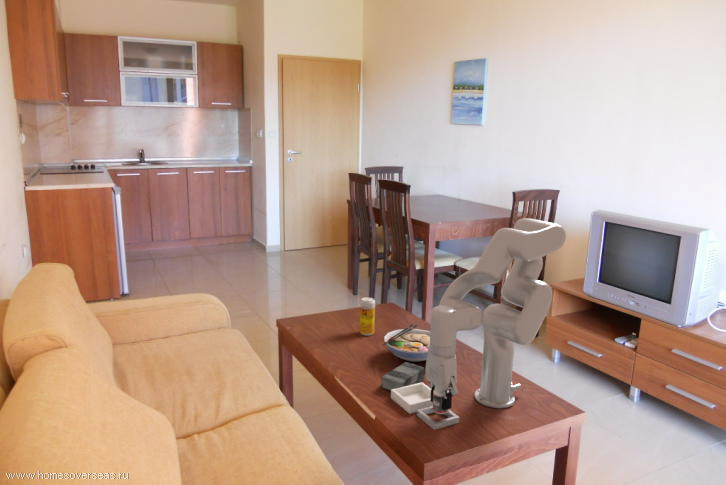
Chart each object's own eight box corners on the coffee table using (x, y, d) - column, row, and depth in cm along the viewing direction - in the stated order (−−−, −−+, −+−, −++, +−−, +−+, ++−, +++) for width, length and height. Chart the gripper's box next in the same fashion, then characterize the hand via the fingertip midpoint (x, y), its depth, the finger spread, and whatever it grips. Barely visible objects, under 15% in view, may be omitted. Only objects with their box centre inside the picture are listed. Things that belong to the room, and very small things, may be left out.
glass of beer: (357, 335, 229) (358, 300, 225) (362, 330, 234) (363, 296, 231) (371, 337, 227) (372, 302, 224) (375, 331, 233) (376, 297, 229)
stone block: (378, 388, 184) (378, 373, 183) (402, 374, 195) (403, 360, 194) (400, 396, 178) (400, 381, 177) (424, 381, 189) (424, 367, 188)
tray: (421, 390, 182) (422, 382, 182) (441, 405, 173) (442, 396, 172) (390, 398, 177) (391, 389, 176) (409, 414, 167) (410, 405, 167)
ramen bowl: (424, 378, 191) (426, 356, 190) (369, 361, 204) (370, 340, 202) (455, 354, 212) (456, 334, 210) (403, 340, 224) (404, 321, 222)
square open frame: (440, 408, 171) (441, 403, 170) (458, 422, 163) (459, 417, 163) (416, 415, 167) (416, 409, 166) (434, 429, 159) (434, 424, 159)
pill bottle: (429, 408, 166) (430, 382, 164) (443, 405, 168) (444, 379, 166) (437, 416, 162) (438, 390, 160) (451, 412, 164) (452, 386, 162)
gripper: (415, 340, 166) (414, 395, 170) (450, 362, 151) (448, 421, 155) (436, 335, 169) (434, 389, 174) (471, 356, 155) (469, 415, 159)
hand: (440, 404), depth 164 cm, fingers closed on pill bottle, 4 cm apart
